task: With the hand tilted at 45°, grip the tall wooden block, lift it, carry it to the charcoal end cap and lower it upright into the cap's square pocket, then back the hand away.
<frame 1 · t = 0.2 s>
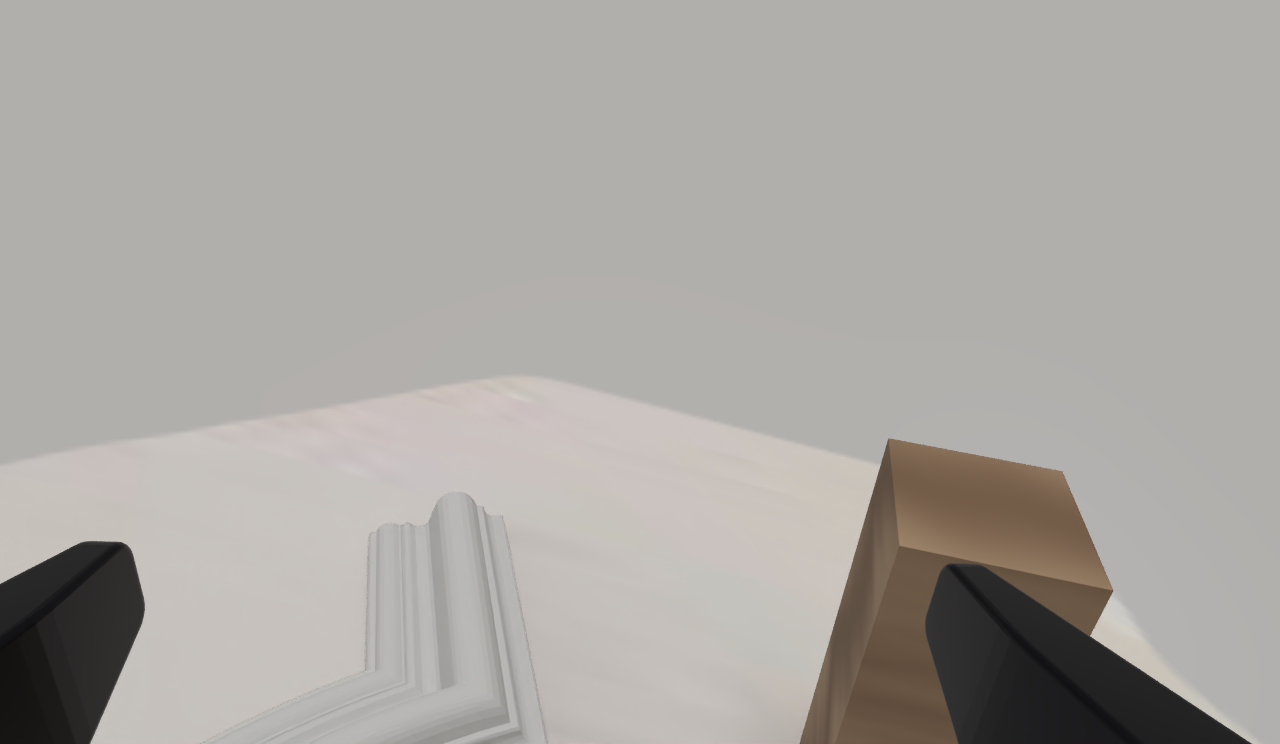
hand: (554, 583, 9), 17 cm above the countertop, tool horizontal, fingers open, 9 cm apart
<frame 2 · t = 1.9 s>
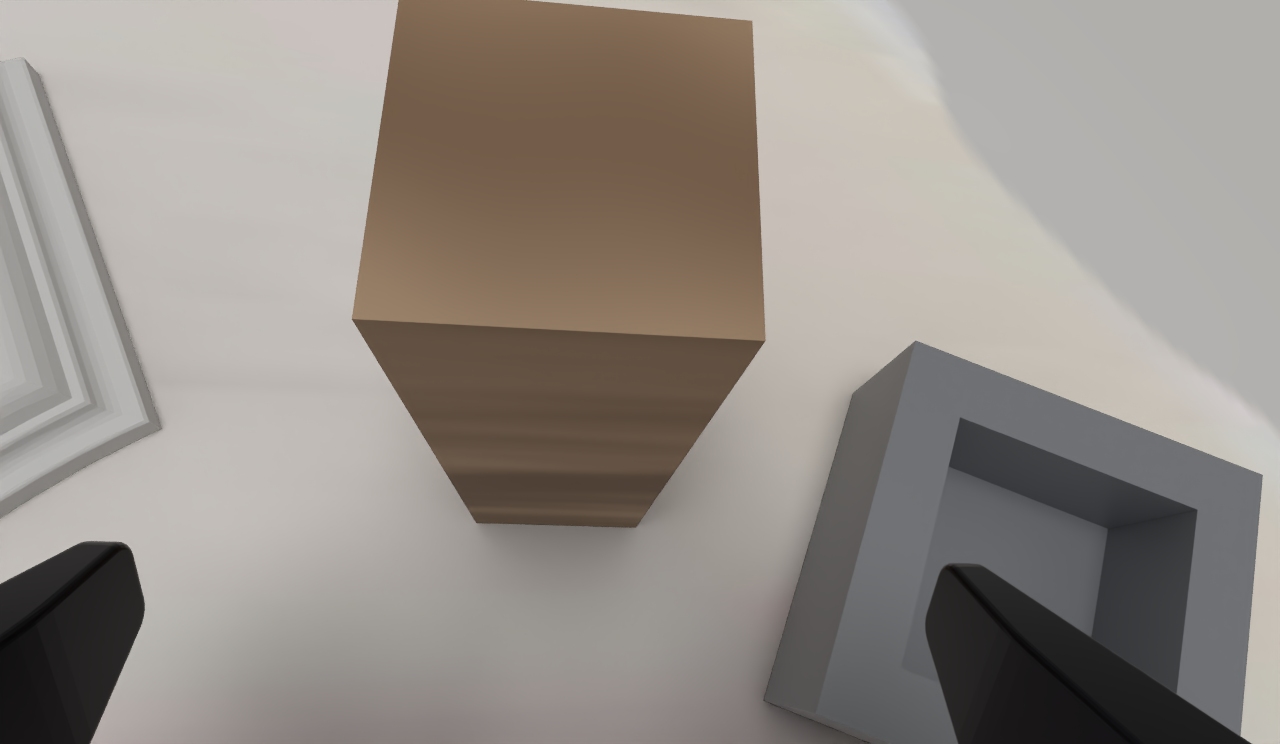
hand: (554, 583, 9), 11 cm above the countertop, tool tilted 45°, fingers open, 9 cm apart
end cap: (964, 596, 20), on the countertop
tall wooden block: (560, 447, 21), on the countertop
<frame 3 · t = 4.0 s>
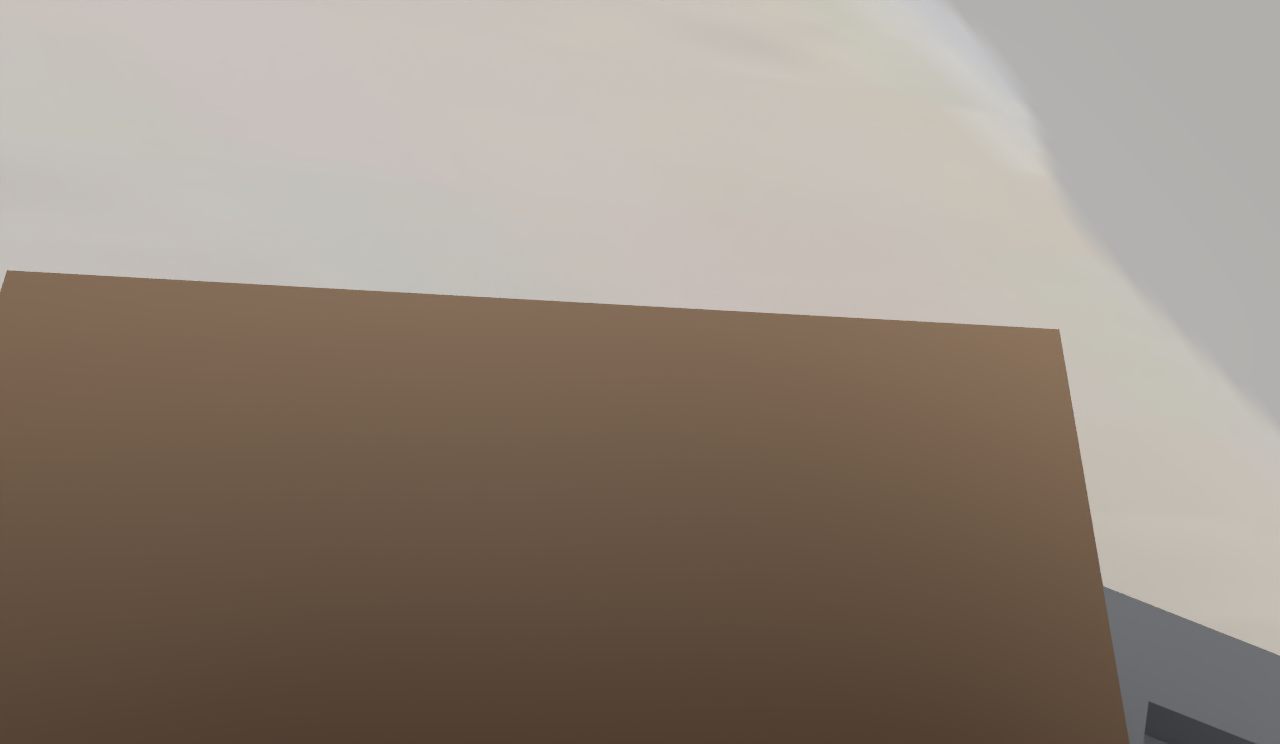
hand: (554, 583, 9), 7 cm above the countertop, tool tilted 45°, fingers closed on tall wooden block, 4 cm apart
tall wooden block: (549, 685, 15), on the countertop, touching gripper
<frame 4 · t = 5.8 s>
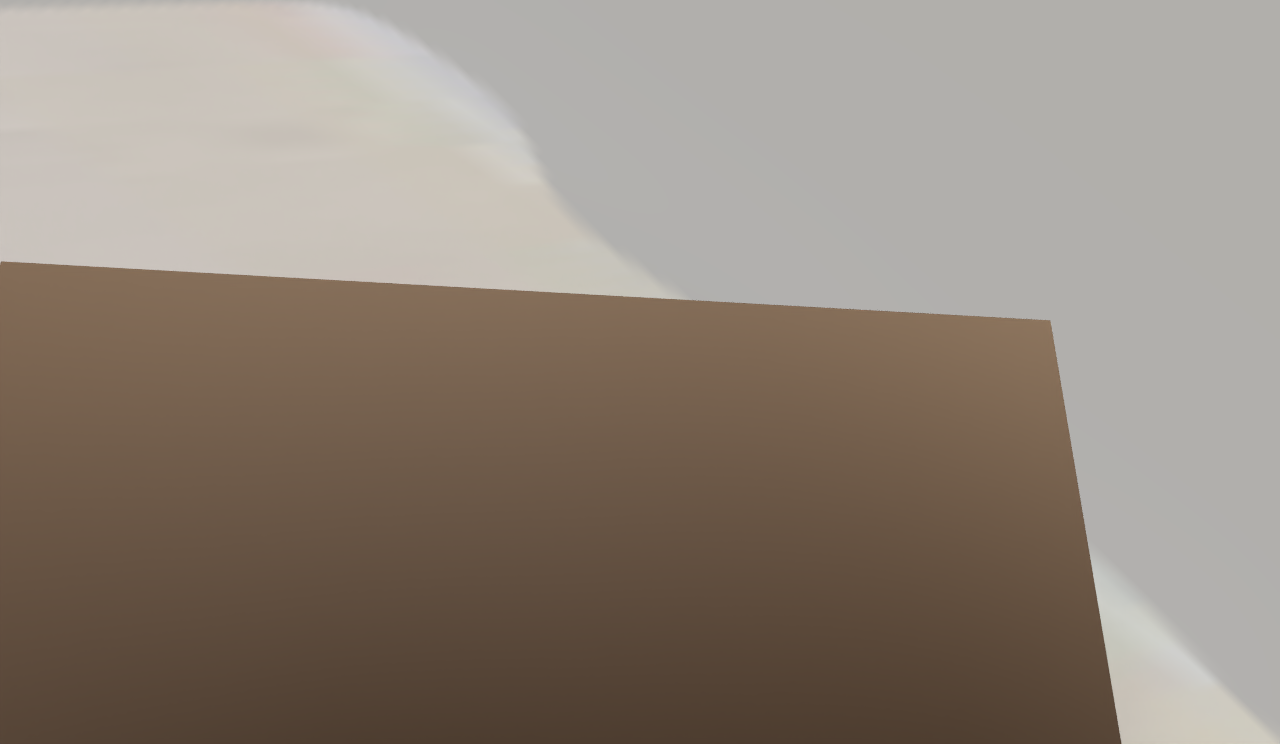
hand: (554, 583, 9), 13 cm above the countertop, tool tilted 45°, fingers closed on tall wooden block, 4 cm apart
tall wooden block: (548, 683, 15), point 7 cm above the countertop, touching gripper
when the fingers open (8 cm above the countertop, at t = 7.9 s): tall wooden block stays where it is, resting on end cap.
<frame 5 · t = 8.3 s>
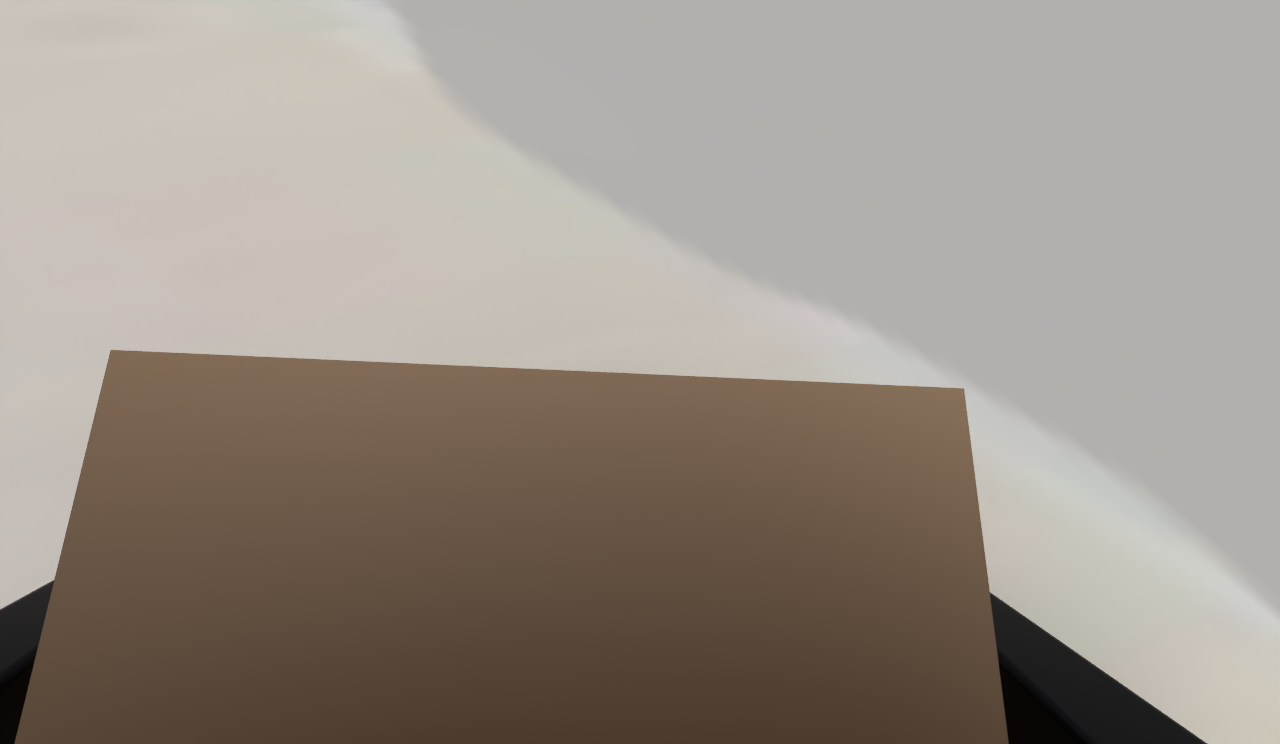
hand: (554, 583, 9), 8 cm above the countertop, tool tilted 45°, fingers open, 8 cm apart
tall wooden block: (549, 683, 15), point 1 cm above the countertop, touching end cap
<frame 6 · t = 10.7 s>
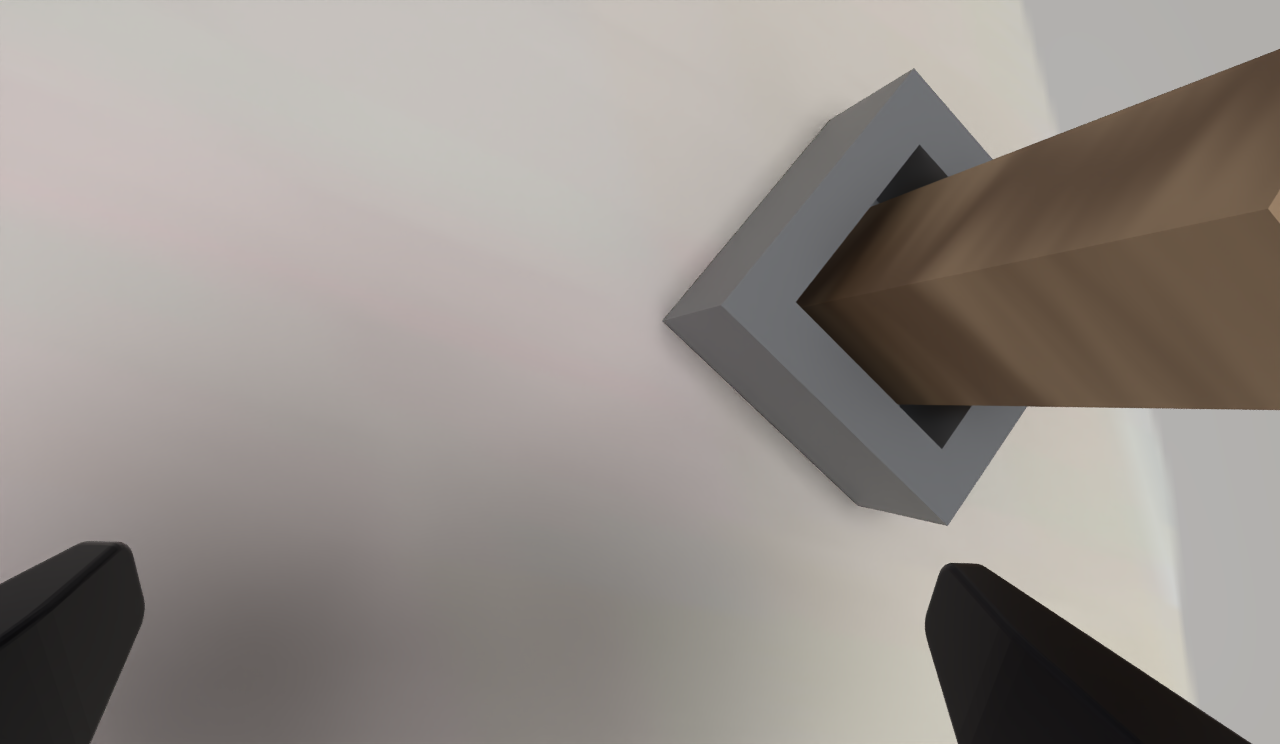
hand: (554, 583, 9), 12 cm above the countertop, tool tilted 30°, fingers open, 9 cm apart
end cap: (844, 312, 24), on the countertop
tall wooden block: (862, 308, 23), point 1 cm above the countertop, touching end cap
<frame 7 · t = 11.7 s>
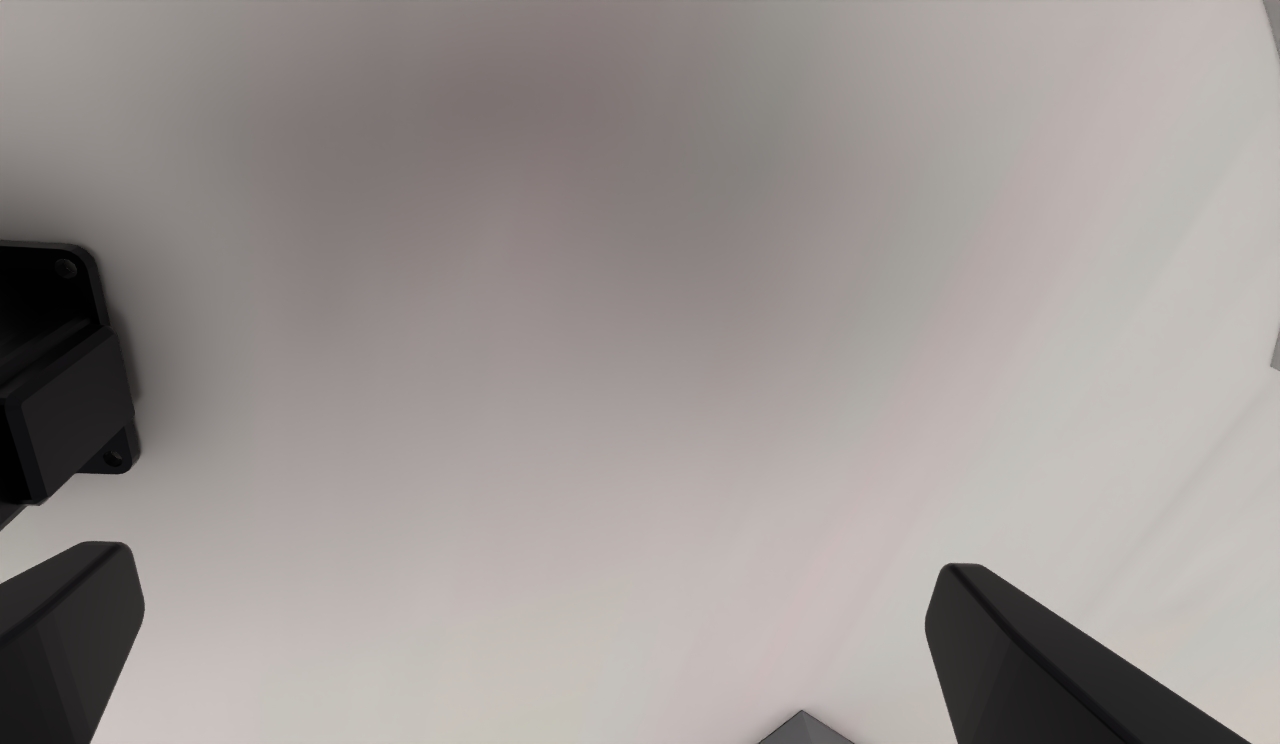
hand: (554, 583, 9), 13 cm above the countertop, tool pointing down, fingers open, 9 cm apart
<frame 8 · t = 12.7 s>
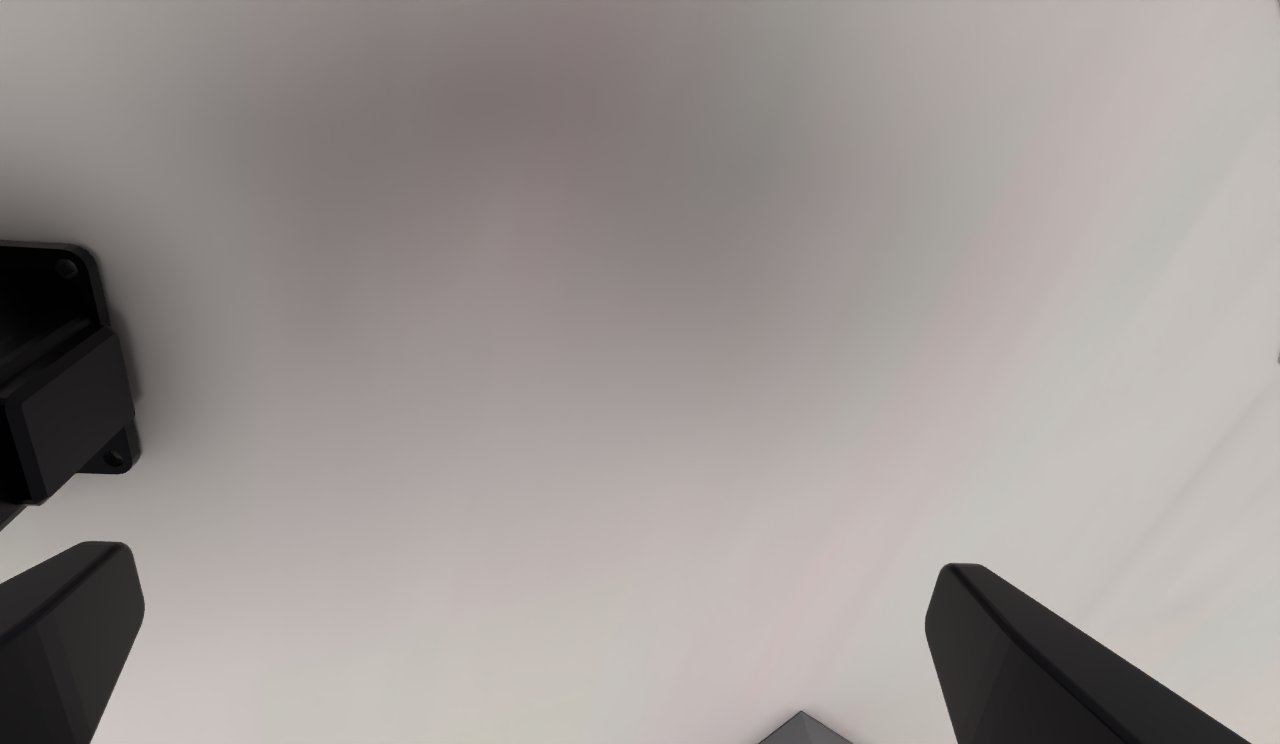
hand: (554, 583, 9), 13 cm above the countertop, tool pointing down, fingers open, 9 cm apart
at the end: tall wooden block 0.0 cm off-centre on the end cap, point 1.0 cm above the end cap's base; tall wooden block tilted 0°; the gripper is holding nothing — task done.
